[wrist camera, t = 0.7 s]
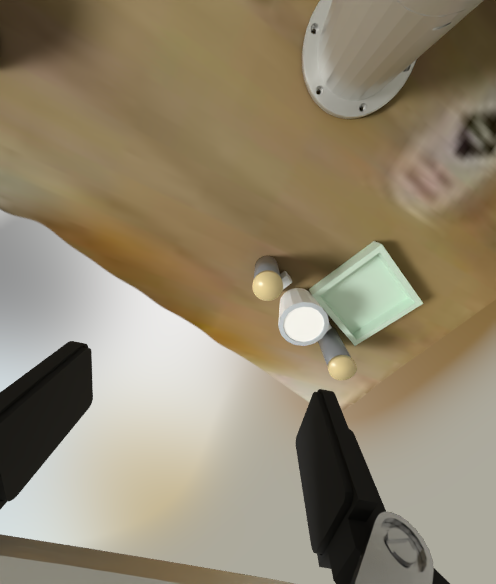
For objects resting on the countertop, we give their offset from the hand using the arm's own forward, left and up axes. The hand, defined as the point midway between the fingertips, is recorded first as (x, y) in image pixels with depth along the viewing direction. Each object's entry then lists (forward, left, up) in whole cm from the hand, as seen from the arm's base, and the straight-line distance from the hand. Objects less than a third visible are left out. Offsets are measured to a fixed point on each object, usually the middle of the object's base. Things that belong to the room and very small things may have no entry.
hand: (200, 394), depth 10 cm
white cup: (0, +12, -29) cm, 31 cm away
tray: (-9, +17, -29) cm, 35 cm away
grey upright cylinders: (-1, +12, -29) cm, 31 cm away
